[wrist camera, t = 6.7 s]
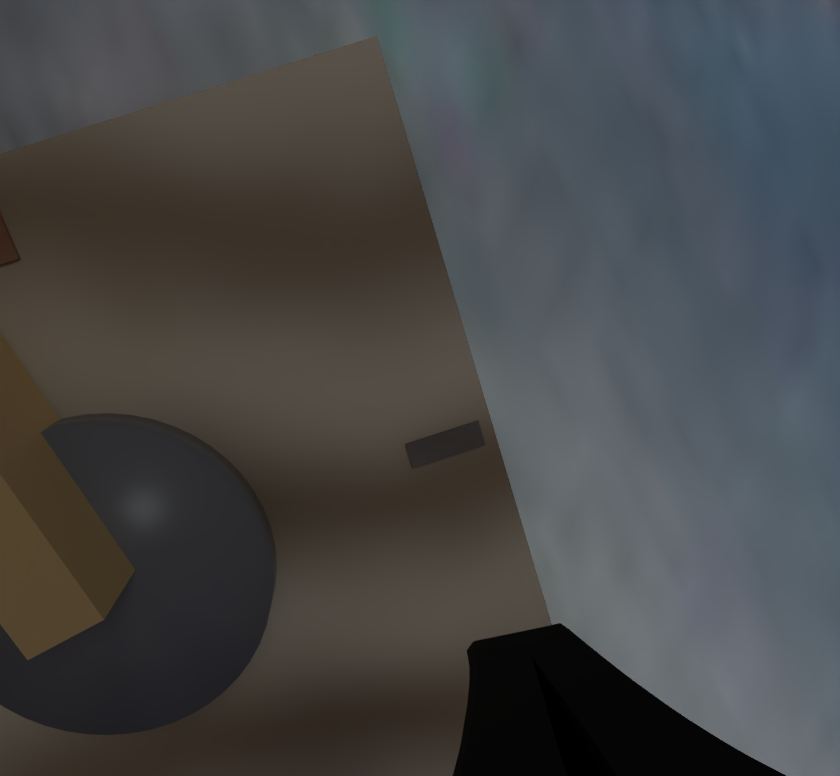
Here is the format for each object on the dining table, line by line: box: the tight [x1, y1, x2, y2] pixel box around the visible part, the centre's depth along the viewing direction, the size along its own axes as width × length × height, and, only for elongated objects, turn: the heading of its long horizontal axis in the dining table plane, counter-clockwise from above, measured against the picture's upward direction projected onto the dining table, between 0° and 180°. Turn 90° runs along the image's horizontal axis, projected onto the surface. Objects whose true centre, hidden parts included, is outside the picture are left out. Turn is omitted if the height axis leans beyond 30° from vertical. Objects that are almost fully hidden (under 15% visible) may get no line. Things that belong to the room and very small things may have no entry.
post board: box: [0, 36, 552, 776], centre depth 18 cm, size 18×18×2 cm
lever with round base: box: [0, 332, 277, 735], centre depth 14 cm, size 12×7×3 cm, turn 28°
